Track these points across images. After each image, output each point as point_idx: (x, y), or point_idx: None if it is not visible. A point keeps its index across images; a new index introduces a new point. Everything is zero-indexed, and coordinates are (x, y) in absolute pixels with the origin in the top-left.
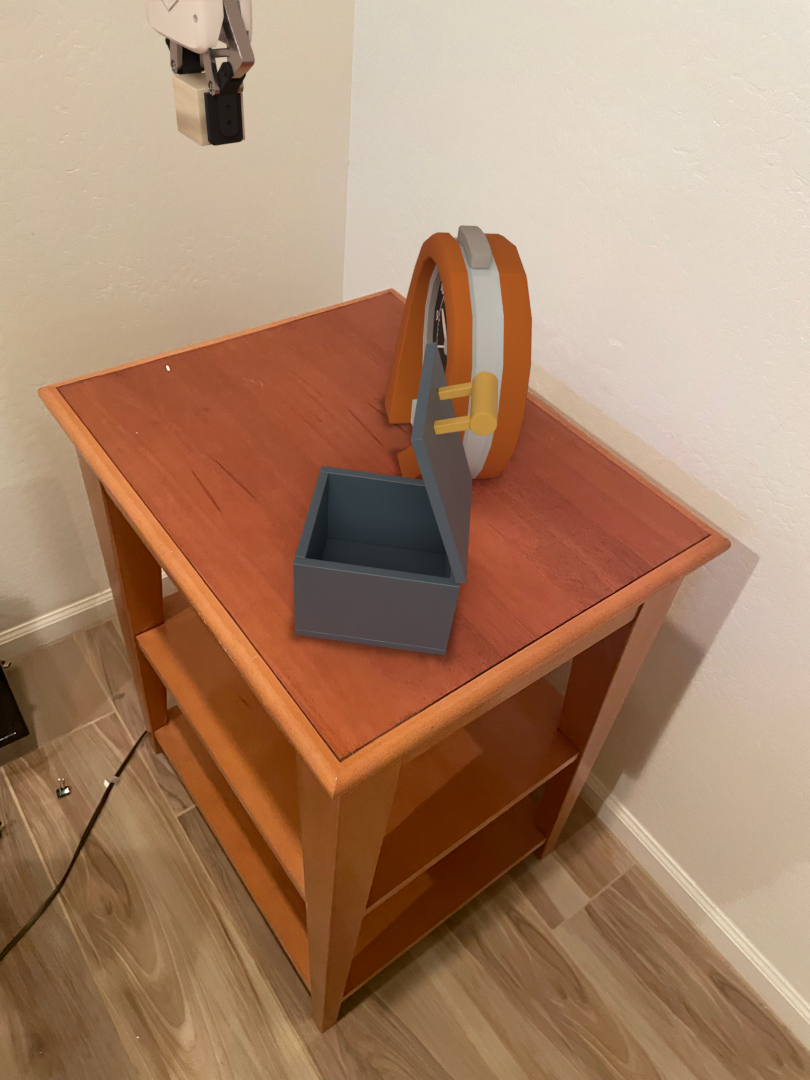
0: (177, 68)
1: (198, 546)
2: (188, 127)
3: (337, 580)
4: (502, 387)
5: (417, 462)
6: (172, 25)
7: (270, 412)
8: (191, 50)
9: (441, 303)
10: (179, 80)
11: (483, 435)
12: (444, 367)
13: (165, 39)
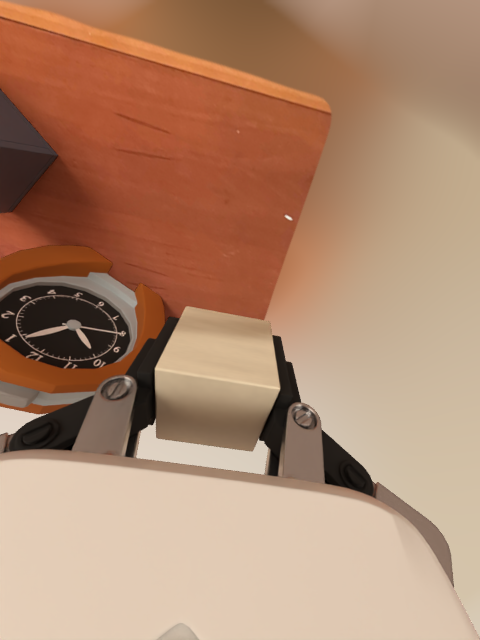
0: (287, 414)
1: (86, 61)
2: (225, 322)
3: None
4: None
5: (63, 249)
6: (165, 541)
7: (194, 235)
8: (82, 453)
9: (103, 354)
10: (239, 381)
11: None
12: (91, 318)
13: (365, 478)
